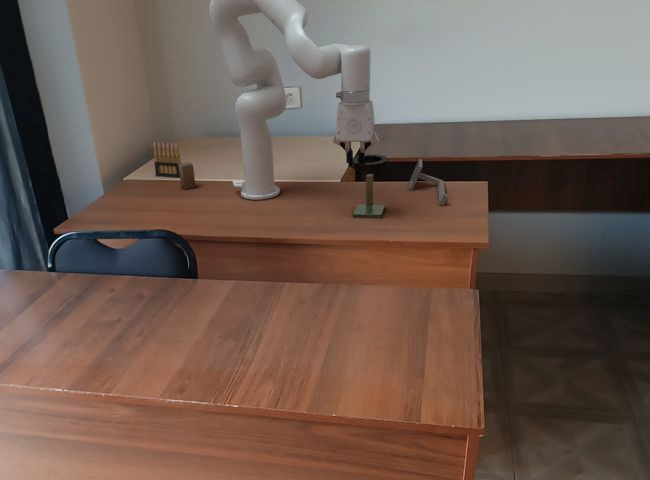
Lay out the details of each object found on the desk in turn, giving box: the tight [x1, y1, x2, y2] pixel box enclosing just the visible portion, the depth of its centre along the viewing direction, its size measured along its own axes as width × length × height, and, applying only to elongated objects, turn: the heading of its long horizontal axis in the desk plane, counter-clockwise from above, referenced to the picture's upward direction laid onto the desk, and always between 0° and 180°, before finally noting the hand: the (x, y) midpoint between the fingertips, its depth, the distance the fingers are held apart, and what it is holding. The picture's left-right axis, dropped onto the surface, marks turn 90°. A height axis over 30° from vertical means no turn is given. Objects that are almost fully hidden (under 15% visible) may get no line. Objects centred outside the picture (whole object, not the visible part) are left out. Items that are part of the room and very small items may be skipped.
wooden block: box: [178, 161, 196, 190], centre depth 224 cm, size 4×4×8 cm
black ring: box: [350, 153, 389, 172], centre depth 185 cm, size 10×10×2 cm
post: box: [352, 173, 386, 219], centre depth 190 cm, size 8×8×11 cm
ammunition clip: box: [153, 141, 183, 179], centre depth 236 cm, size 11×2×12 cm, turn 66°
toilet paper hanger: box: [409, 158, 449, 206], centre depth 203 cm, size 23×9×8 cm, turn 168°
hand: (355, 165), depth 187 cm, fingers closed on black ring, 2 cm apart
